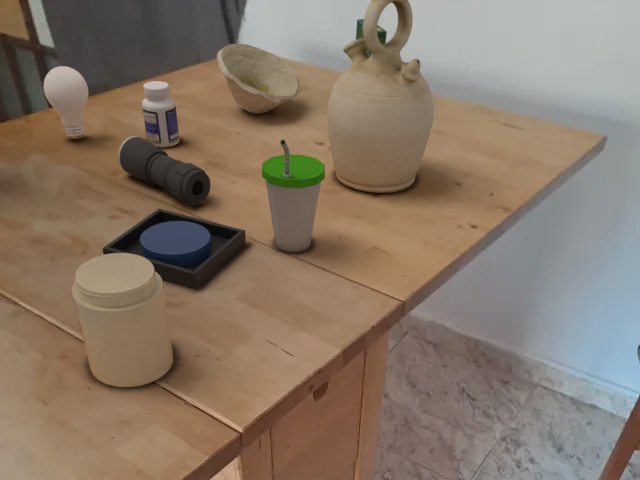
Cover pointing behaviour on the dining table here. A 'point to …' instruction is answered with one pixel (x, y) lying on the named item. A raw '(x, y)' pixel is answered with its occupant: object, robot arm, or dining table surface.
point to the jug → (380, 109)
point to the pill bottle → (160, 115)
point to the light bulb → (67, 98)
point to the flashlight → (163, 170)
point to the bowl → (257, 77)
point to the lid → (176, 243)
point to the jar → (123, 319)
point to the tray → (222, 249)
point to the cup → (293, 197)
